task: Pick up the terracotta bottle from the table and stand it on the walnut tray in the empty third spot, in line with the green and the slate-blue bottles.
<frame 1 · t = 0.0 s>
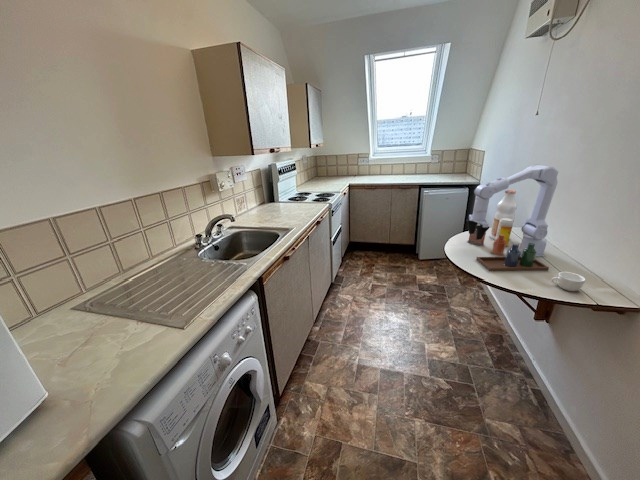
hand: (474, 236, 133), 10 cm above the table, tool pointing down, fingers open, 7 cm apart
slate-blue bottle: (510, 264, 124), point 1 cm above the table, touching tray
lighter: (475, 243, 149), on the table
green bottle: (525, 264, 124), point 1 cm above the table, touching tray
terracotta bottle: (497, 254, 136), on the table
tray: (510, 266, 124), on the table
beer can: (500, 245, 146), on the table
fruit juice: (499, 238, 155), on the table
teacup: (563, 288, 106), on the table
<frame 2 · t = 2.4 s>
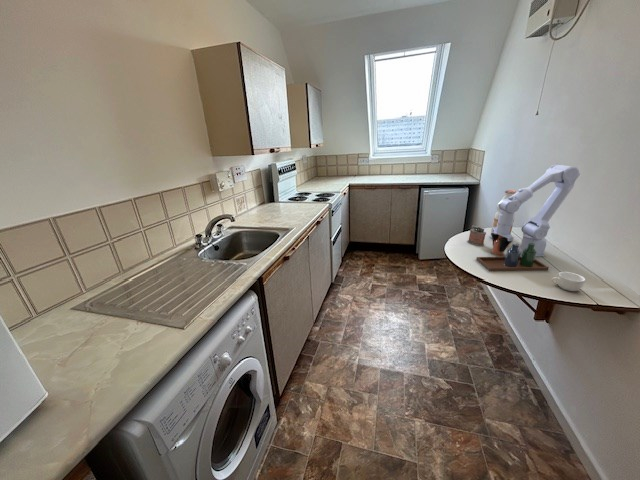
hand: (498, 248, 135), 3 cm above the table, tool pointing down, fingers closed on terracotta bottle, 5 cm apart
terracotta bottle: (497, 254, 136), on the table, touching gripper
everything else where it was.
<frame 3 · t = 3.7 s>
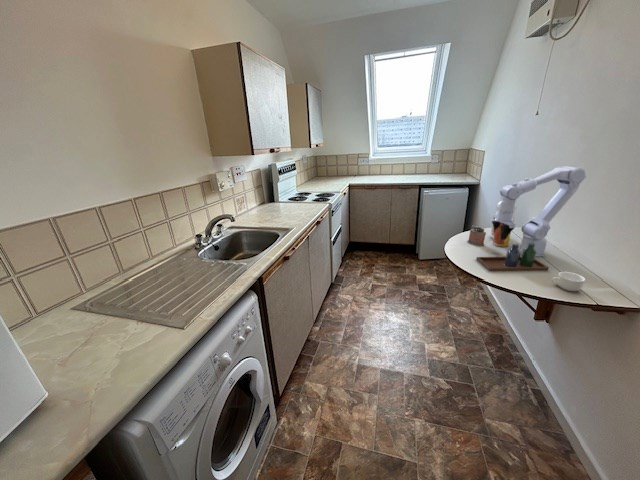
hand: (499, 237, 133), 9 cm above the table, tool pointing down, fingers closed on terracotta bottle, 5 cm apart
terracotta bottle: (498, 242, 134), point 7 cm above the table, touching gripper
everything else where it was.
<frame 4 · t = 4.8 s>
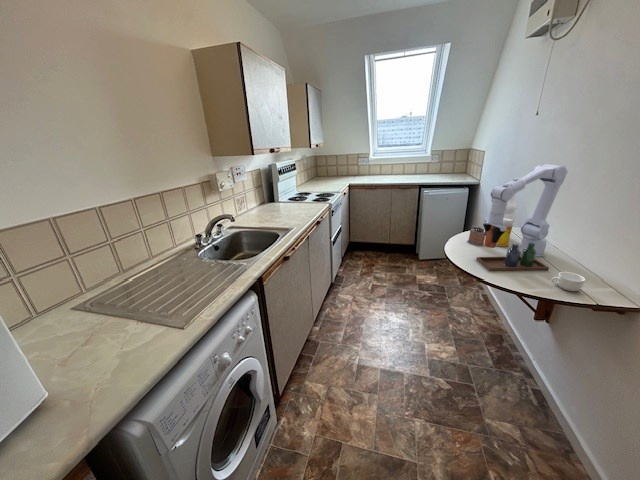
hand: (491, 240, 127), 10 cm above the table, tool pointing down, fingers closed on terracotta bottle, 5 cm apart
terracotta bottle: (489, 245, 128), point 8 cm above the table, touching gripper
everything else where it was.
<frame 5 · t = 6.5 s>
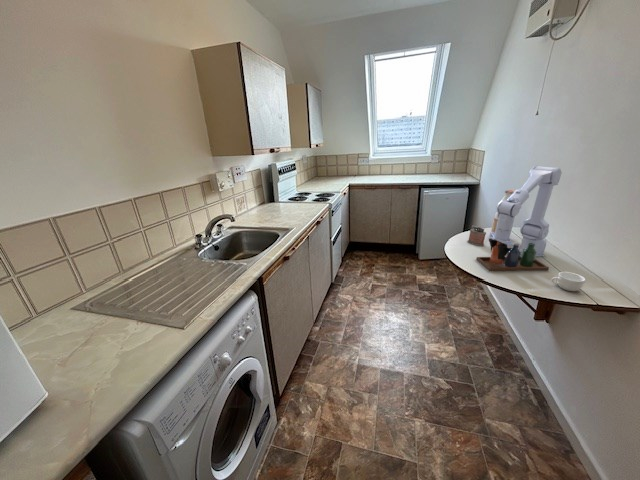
hand: (497, 256, 123), 5 cm above the table, tool pointing down, fingers closed on terracotta bottle, 5 cm apart
terracotta bottle: (495, 261, 124), point 2 cm above the table, touching gripper
everything else where it was.
when the fingers open (3 cm above the table, at t = 7.6 s): terracotta bottle stays where it is, resting on tray.
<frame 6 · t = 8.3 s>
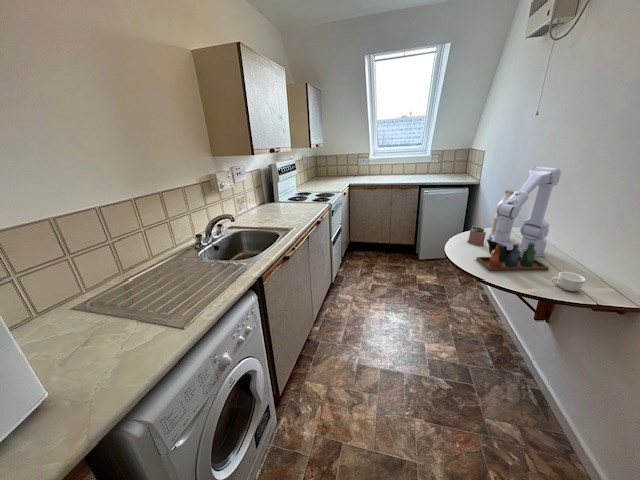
hand: (496, 257, 123), 4 cm above the table, tool pointing down, fingers open, 7 cm apart
terracotta bottle: (494, 265, 124), point 1 cm above the table, touching tray
everything else where it was.
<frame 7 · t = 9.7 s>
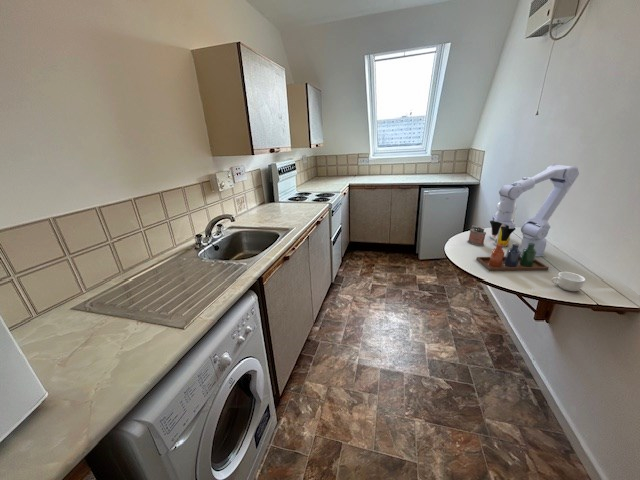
hand: (499, 237, 130), 10 cm above the table, tool pointing down, fingers open, 7 cm apart
nothing on the table moved.
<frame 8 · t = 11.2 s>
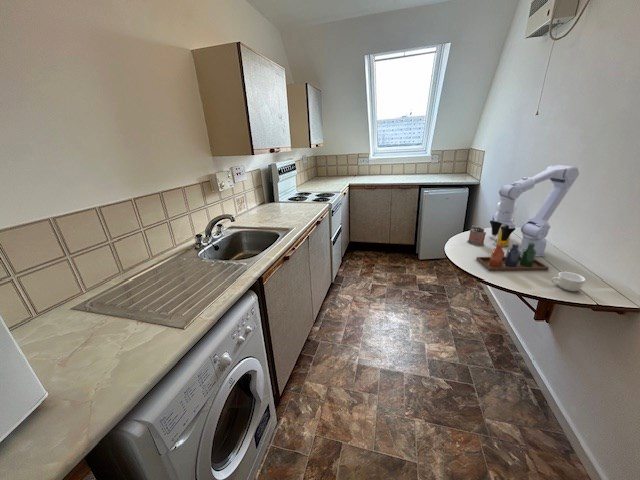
hand: (499, 237, 130), 10 cm above the table, tool pointing down, fingers open, 7 cm apart
nothing on the table moved.
at the end: terracotta bottle 0.1 cm from the target spot in the tray, point 0.6 cm above the tray's base; terracotta bottle tilted 0°; slate-blue bottle moved 0.0 cm from its start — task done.
